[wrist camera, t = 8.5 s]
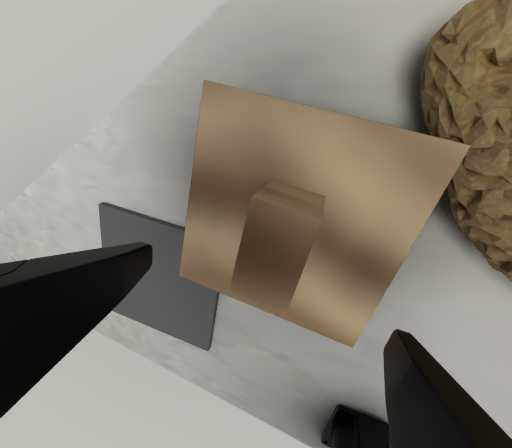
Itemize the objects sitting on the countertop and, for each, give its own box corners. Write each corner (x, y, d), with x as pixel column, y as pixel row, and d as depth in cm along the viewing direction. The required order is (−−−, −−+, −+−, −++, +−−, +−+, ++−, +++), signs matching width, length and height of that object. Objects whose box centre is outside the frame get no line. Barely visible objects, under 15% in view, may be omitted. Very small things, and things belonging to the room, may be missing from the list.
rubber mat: (210, 347, 28) (208, 351, 27) (110, 305, 31) (106, 308, 30) (227, 241, 22) (224, 244, 22) (103, 202, 25) (98, 203, 25)
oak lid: (351, 336, 17) (357, 410, 12) (186, 268, 19) (140, 310, 15) (460, 144, 11) (541, 152, 7) (212, 83, 14) (153, 59, 9)
